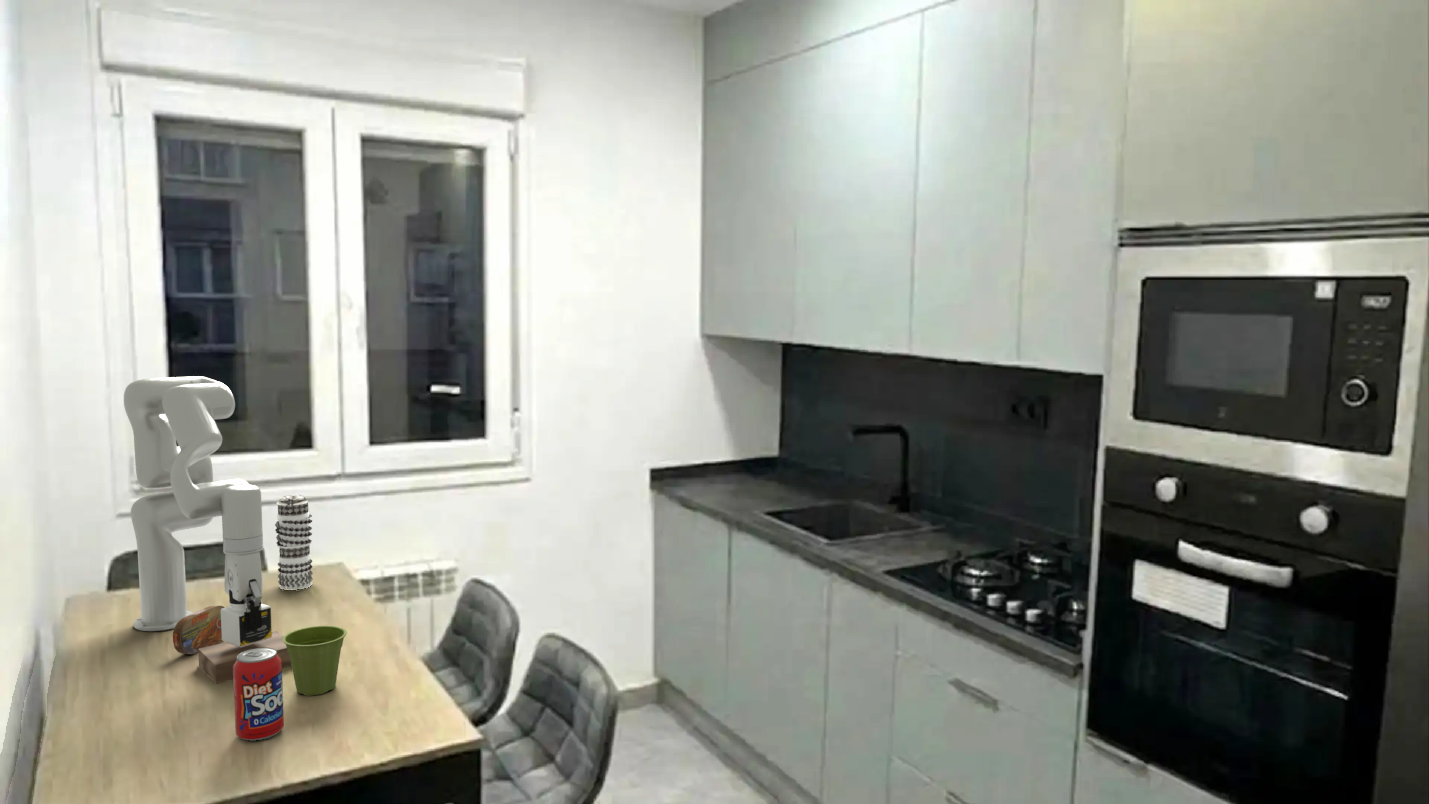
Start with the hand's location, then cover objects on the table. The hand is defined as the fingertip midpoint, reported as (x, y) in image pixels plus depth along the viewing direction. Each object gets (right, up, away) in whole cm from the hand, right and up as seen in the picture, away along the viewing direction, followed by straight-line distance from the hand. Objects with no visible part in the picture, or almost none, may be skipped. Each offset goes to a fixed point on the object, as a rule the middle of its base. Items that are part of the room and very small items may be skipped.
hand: (246, 623), depth 197 cm
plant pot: (+20, -11, -11) cm, 25 cm away
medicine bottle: (0, -4, 0) cm, 4 cm away
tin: (-15, -8, +11) cm, 21 cm away
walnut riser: (0, -9, +1) cm, 9 cm away
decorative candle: (-15, -3, +56) cm, 58 cm away
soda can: (+18, -13, -30) cm, 37 cm away
